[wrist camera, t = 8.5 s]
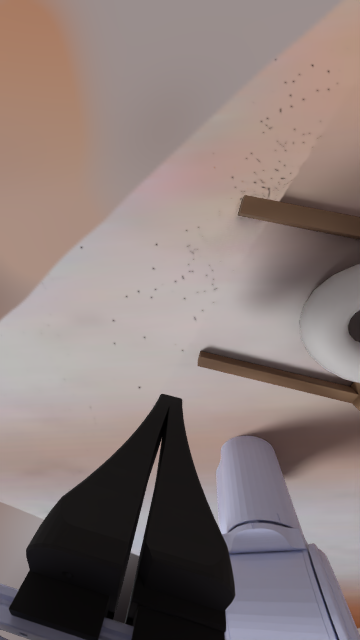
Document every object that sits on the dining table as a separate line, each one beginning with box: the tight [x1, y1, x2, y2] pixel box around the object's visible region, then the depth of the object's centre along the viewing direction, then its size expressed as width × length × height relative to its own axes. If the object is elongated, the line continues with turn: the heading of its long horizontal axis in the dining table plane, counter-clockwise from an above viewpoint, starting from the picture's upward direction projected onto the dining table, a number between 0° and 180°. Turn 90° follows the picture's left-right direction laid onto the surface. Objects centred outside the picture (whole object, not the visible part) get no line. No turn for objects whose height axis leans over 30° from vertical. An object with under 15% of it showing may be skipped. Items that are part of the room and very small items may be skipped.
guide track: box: [198, 195, 360, 411], centre depth 16 cm, size 16×18×2 cm
